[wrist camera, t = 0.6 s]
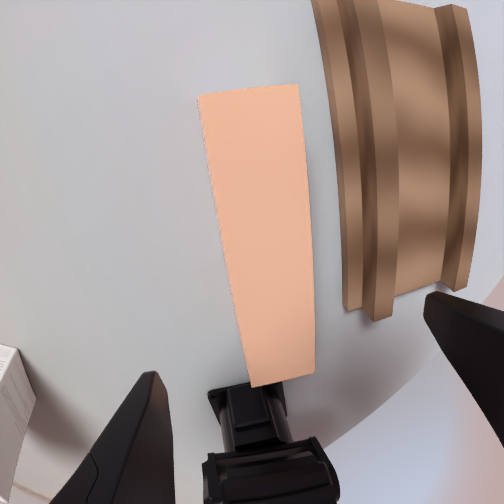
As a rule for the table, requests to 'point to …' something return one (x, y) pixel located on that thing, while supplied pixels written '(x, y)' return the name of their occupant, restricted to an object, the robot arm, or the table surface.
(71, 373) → the table surface
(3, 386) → the supplement box
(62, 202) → the table surface
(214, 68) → the table surface
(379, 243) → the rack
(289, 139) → the peach rectangular block
